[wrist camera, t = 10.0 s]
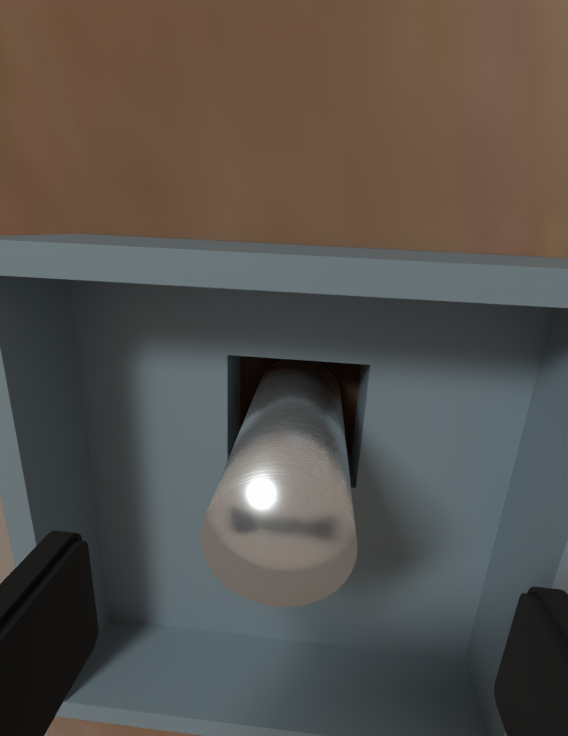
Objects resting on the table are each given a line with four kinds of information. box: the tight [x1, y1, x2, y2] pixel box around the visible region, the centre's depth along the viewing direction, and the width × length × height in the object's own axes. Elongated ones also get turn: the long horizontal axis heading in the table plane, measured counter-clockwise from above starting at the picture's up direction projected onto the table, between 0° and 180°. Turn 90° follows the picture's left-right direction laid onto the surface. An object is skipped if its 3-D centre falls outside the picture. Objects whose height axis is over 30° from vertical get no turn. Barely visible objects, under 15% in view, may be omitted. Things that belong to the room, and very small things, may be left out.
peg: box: [200, 359, 357, 607], centre depth 15 cm, size 4×4×10 cm
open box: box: [0, 234, 568, 736], centre depth 18 cm, size 20×20×7 cm
